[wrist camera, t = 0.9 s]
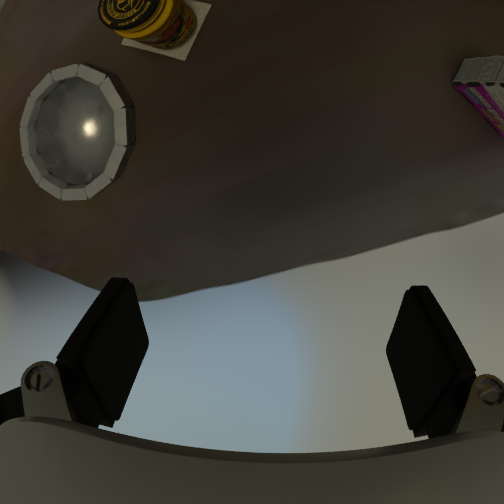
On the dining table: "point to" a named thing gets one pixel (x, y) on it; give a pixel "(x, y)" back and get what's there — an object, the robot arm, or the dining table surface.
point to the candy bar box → (484, 87)
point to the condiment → (155, 23)
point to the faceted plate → (77, 131)
